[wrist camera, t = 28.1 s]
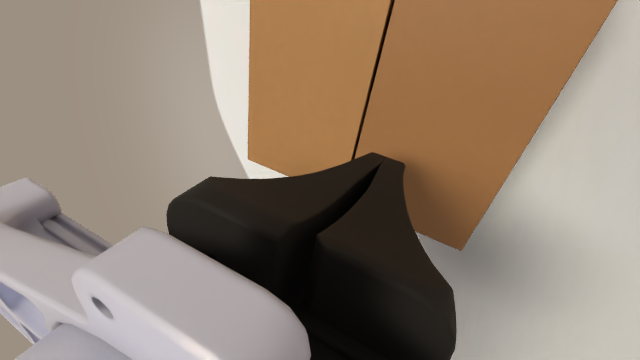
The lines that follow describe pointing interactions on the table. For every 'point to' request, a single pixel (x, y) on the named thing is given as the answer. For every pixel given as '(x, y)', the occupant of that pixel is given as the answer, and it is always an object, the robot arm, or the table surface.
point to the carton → (469, 97)
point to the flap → (310, 80)
